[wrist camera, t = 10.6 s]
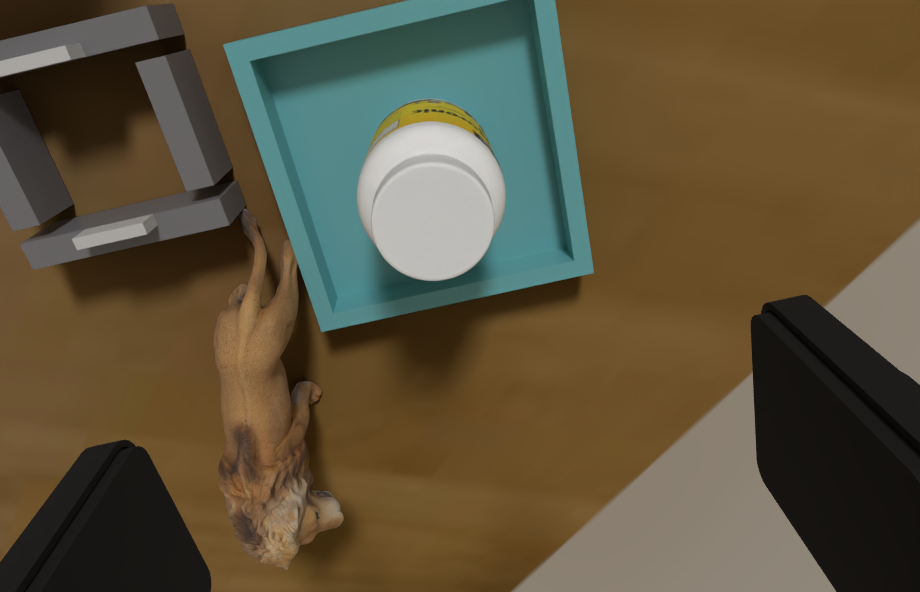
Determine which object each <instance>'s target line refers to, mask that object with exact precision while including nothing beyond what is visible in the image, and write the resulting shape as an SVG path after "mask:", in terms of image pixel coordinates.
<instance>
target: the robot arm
mask: <svg viewBox="0 0 920 592" xmlns="http://www.w3.org/2000/svg"><path fill="white" fill-rule="evenodd" d="M751 342H752V364H753V385H754V408H755V431H756V452H757V464H758V468H759V472H760V474H761V477H762V479H763V482H764V483H765V485H766V487H767V488H768V490H769V491H770V492H771V494H772V496H773V497H774V499H775V500H776V502H777V503H778V505H779V506H780V508H781V509H782V511H783V512H784V514H785V515H786V517H787V518H788V520H789V521H790V523H791V524H792V526H793V527H794V529H795V530H796V532H797V533H798V535H799V536H800V538H801V539H802V541H803V542H804V544H805V545H806V547H807V548H808V550H809V551H810V553H811V554H812V556H813V557H814V559H815V560H816V562H817V563H818V565H819V566H820V567H821V569H822V570H823V572H824V573H825V575H826V576H827V578H828V580H829V581H830V583H831V584H832V586H833V587H834V588H835V590H836V592H920V385H919V384H918V383H917V382H915V381H914V380H913V379H912V378H910V377H909V376H908V375H906V374H904V373H903V372H901V371H899V370H898V369H897V368H896V367H895V366H893V365H892V364H891V363H890V362H888V361H887V360H886V359H885V358H884V357H882V356H881V355H880V354H879V353H878V352H876V351H875V350H874V349H873V348H871V347H870V346H869V345H868V344H867V343H866V342H864V341H863V340H862V339H861V338H859V337H858V336H857V335H856V334H854V333H853V332H852V331H851V330H850V329H848V328H847V327H846V326H845V325H844V324H842V323H841V322H840V321H839V320H837V319H836V318H835V317H834V316H833V315H832V314H830V313H829V312H828V311H827V310H825V309H824V308H823V307H822V306H821V305H819V304H818V303H817V302H816V301H815V300H813V299H812V298H811V297H809V296H807V295H801V296H796V297H792V298H787V299H782V300H778V301H773V302H768V303H765V304H764V305H763V308H762V311H761V314H759V315H754V316H753V317H752V320H751ZM210 591H211V576H210V572H209V569H208V567H207V565H206V563H205V561H204V559H203V557H202V556H201V554H200V552H199V550H198V548H197V546H196V544H195V542H194V540H193V538H192V536H191V535H190V533H189V531H188V529H187V527H186V525H185V523H184V521H183V519H182V517H181V515H180V514H179V512H178V510H177V508H176V506H175V504H174V502H173V500H172V498H171V496H170V494H169V492H168V491H167V489H166V487H165V485H164V483H163V481H162V479H161V477H160V475H159V473H158V471H157V470H156V468H155V466H154V464H153V462H152V460H151V458H150V456H149V454H148V453H147V451H146V450H145V449H144V448H143V447H139V446H137V447H136V446H135V445H134V444H133V443H132V442H130V441H128V440H121V441H116V442H112V443H107V444H102V445H97V446H93V447H89V448H86V449H85V450H84V451H83V452H82V453H81V455H80V456H79V457H78V459H77V460H76V461H75V463H74V464H73V465H72V467H71V468H70V469H69V471H68V472H67V473H66V475H65V476H64V477H63V479H62V480H61V481H60V483H59V484H58V486H57V487H56V488H55V490H54V491H53V492H52V494H51V495H50V496H49V498H48V499H47V500H46V502H45V503H44V504H43V506H42V507H41V508H40V510H39V511H38V512H37V514H36V515H35V516H34V518H33V519H32V520H31V522H30V523H29V524H28V526H27V527H26V528H25V530H24V531H23V532H22V534H21V535H20V536H19V538H18V539H17V540H16V542H15V543H14V544H13V546H12V547H11V548H10V550H9V551H8V552H7V554H6V555H5V557H4V558H3V559H2V561H1V562H0V592H210Z"/></svg>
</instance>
